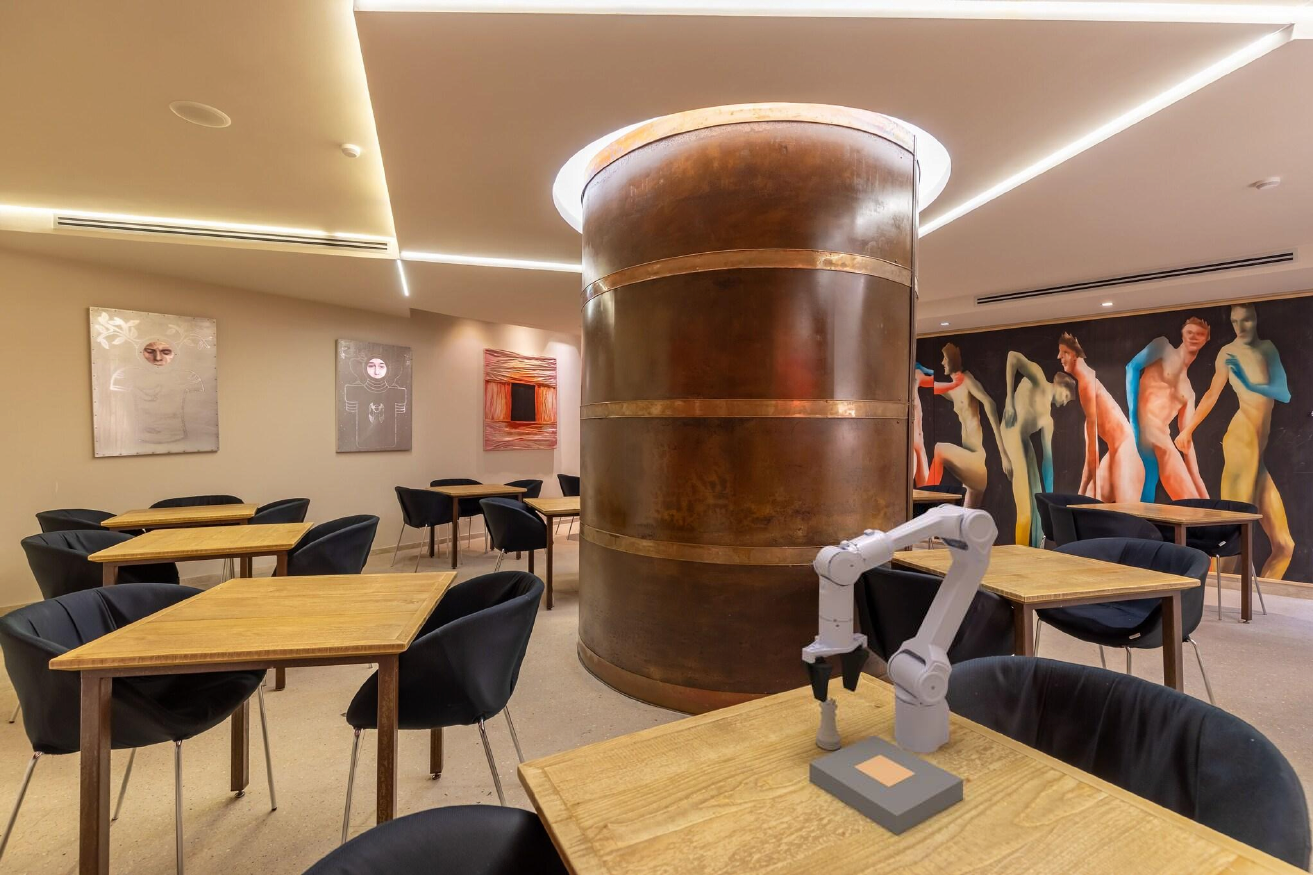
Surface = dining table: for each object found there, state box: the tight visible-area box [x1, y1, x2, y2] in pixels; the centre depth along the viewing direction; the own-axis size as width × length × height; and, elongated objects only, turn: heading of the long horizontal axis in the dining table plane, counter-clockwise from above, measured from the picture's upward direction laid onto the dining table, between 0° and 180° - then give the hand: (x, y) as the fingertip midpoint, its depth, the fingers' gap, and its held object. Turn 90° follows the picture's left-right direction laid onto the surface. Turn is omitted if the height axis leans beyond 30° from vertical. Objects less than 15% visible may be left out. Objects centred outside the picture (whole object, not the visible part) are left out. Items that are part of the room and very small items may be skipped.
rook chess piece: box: [815, 696, 842, 751], centre depth 108 cm, size 4×4×8 cm
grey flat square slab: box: [808, 734, 964, 836], centre depth 95 cm, size 16×16×3 cm
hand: (835, 694), depth 106 cm, fingers open, 7 cm apart
